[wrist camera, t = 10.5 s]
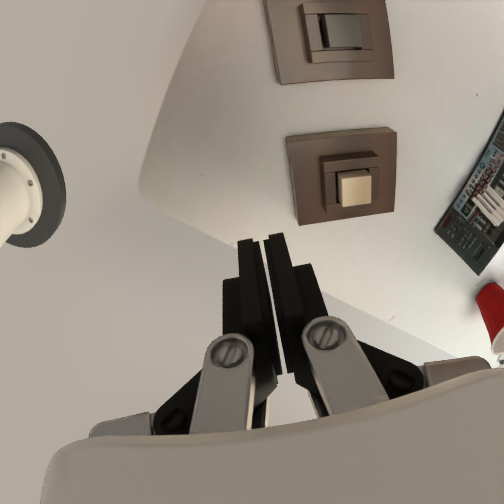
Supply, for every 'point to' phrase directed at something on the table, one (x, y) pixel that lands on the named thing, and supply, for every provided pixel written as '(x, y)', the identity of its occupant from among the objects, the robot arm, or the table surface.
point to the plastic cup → (493, 315)
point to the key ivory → (354, 187)
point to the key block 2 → (341, 160)
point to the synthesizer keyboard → (479, 210)
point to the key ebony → (341, 30)
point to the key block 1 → (312, 43)
